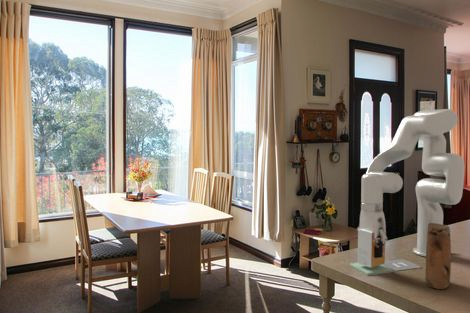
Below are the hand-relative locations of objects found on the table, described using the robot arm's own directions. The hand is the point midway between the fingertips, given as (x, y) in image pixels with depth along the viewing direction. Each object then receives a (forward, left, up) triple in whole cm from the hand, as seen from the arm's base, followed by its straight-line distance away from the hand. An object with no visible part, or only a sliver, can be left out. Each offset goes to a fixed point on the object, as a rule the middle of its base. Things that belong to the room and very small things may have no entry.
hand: (371, 253), depth 146 cm
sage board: (0, 0, -6) cm, 6 cm away
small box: (0, 0, -4) cm, 4 cm away
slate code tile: (-13, 0, -6) cm, 14 cm away
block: (-11, +20, -6) cm, 24 cm away
